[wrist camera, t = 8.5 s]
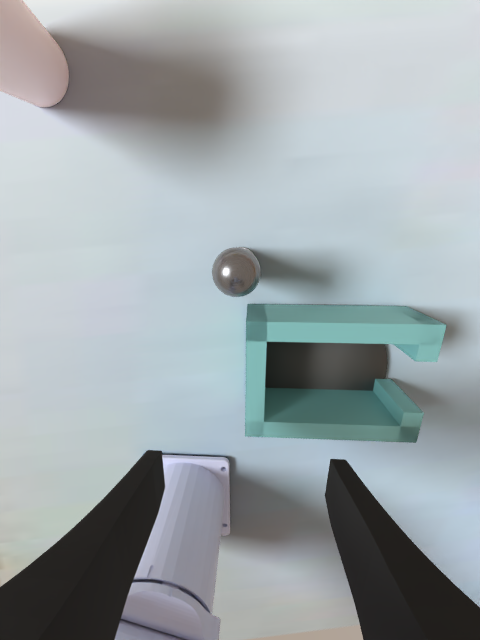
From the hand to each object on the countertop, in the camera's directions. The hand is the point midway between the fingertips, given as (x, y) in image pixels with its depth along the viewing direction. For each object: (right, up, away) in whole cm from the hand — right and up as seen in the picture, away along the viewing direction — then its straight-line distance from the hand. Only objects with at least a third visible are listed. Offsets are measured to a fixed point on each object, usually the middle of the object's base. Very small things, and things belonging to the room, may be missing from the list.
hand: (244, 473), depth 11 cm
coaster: (+6, +3, +9) cm, 11 cm away
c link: (+6, +4, +8) cm, 11 cm away
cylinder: (0, +11, +7) cm, 13 cm away
